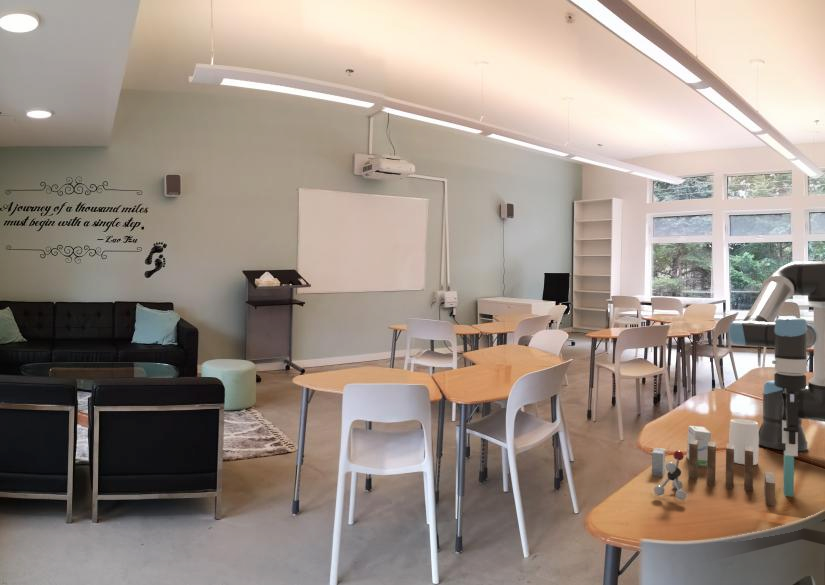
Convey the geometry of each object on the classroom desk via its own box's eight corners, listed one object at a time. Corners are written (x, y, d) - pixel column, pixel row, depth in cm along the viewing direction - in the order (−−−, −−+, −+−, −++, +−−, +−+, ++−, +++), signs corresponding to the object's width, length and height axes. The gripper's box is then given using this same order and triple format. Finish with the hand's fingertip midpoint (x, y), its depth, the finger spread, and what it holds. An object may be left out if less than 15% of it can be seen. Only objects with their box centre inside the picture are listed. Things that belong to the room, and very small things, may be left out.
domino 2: (715, 479, 174) (715, 442, 174) (714, 484, 169) (715, 446, 169) (707, 478, 175) (708, 441, 175) (707, 483, 170) (707, 445, 170)
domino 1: (697, 476, 177) (697, 440, 177) (696, 482, 171) (696, 444, 171) (690, 475, 178) (690, 439, 178) (688, 480, 172) (689, 443, 172)
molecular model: (652, 495, 159) (653, 456, 159) (663, 484, 169) (663, 447, 169) (685, 502, 155) (685, 461, 155) (694, 490, 164) (694, 452, 164)
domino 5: (773, 472, 162) (775, 483, 153) (772, 494, 162) (774, 506, 153) (764, 471, 163) (766, 482, 154) (764, 492, 163) (765, 504, 154)
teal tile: (791, 490, 165) (792, 451, 165) (793, 497, 160) (794, 456, 160) (783, 489, 166) (783, 450, 166) (784, 495, 161) (785, 455, 161)
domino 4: (752, 484, 170) (752, 446, 170) (752, 490, 164) (753, 451, 164) (744, 483, 171) (744, 445, 171) (744, 489, 165) (745, 450, 165)
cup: (756, 470, 184) (757, 425, 184) (726, 465, 189) (727, 421, 189) (760, 464, 190) (760, 421, 190) (731, 460, 196) (731, 417, 196)
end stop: (664, 471, 181) (665, 448, 181) (662, 477, 175) (662, 453, 175) (654, 469, 183) (654, 447, 183) (651, 475, 177) (652, 452, 177)
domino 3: (733, 482, 172) (734, 444, 172) (733, 487, 167) (734, 449, 167) (725, 480, 173) (726, 443, 173) (725, 486, 168) (726, 448, 168)
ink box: (686, 460, 194) (686, 425, 194) (703, 461, 193) (703, 426, 193) (693, 468, 186) (693, 430, 186) (710, 469, 184) (711, 431, 185)
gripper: (771, 366, 176) (771, 437, 176) (777, 378, 154) (776, 458, 154) (801, 368, 172) (801, 440, 172) (811, 380, 150) (810, 463, 151)
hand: (789, 449), depth 163 cm, fingers open, 13 cm apart
